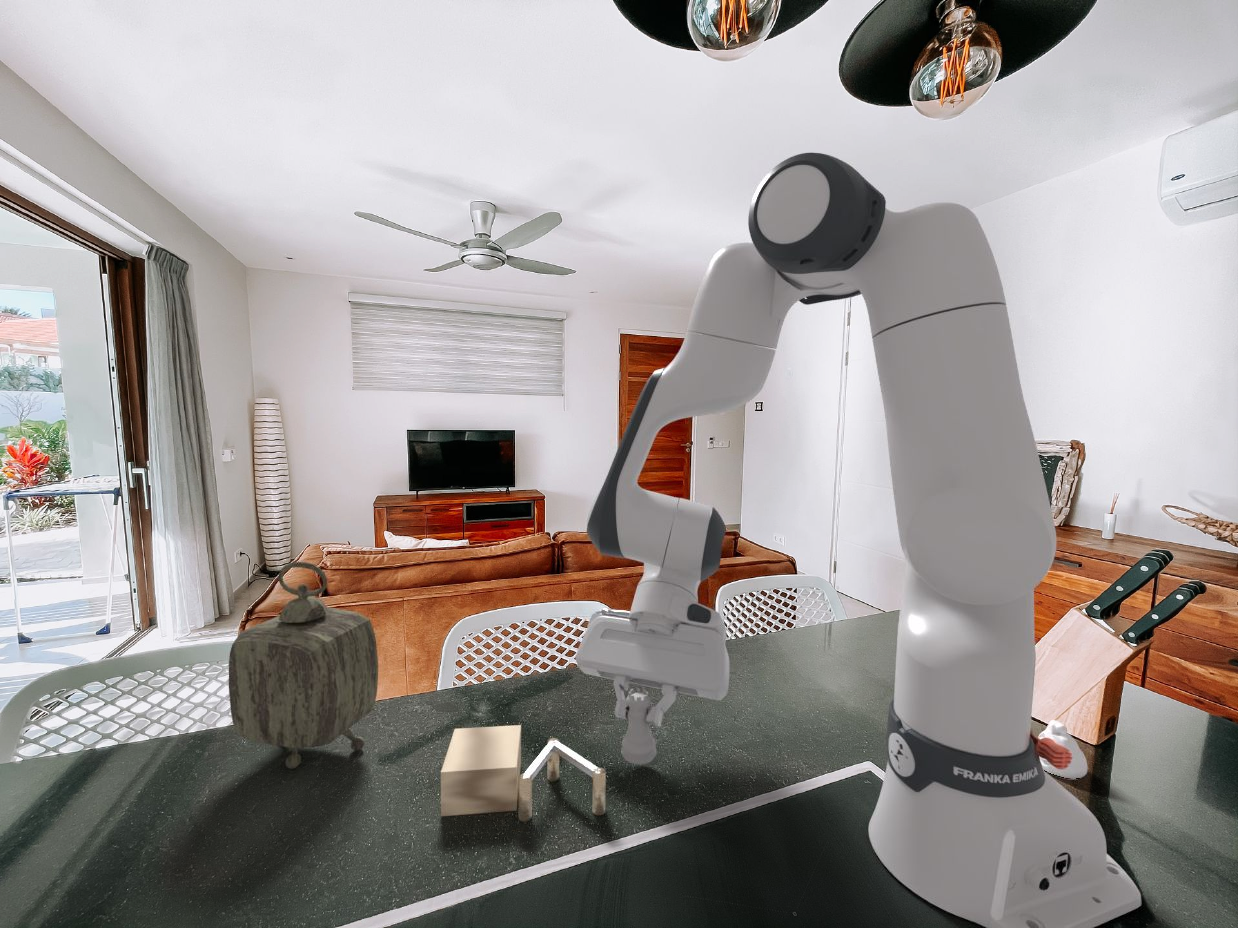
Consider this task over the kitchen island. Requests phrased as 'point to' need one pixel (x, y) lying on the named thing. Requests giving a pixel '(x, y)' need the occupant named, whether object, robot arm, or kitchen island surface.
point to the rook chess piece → (638, 730)
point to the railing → (552, 759)
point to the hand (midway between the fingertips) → (636, 720)
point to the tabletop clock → (303, 673)
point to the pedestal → (481, 771)
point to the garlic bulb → (1062, 738)
